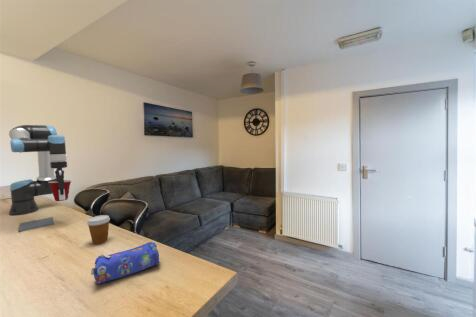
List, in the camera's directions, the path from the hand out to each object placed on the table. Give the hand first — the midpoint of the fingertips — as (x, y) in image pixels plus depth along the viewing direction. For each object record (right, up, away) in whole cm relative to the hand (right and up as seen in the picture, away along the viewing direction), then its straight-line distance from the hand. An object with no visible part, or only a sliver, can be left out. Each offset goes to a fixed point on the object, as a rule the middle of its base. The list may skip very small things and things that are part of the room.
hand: (61, 198), depth 126 cm
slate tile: (-17, -17, +2) cm, 24 cm away
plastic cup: (0, -1, 0) cm, 1 cm away
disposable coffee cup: (+38, -17, -22) cm, 48 cm away
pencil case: (+66, -19, -48) cm, 84 cm away
